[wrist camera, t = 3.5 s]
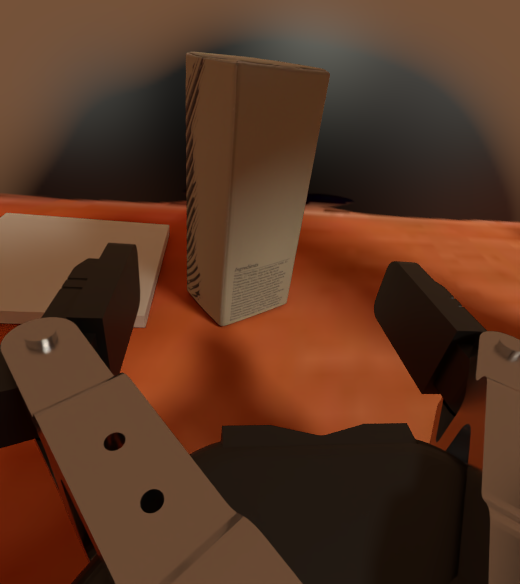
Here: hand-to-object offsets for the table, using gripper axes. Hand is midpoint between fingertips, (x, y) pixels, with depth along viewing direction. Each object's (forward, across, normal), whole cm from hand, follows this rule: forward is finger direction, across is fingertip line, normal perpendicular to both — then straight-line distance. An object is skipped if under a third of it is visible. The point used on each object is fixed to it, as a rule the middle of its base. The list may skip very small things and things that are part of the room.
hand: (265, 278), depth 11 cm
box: (+9, 0, +7) cm, 11 cm away
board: (+12, +11, +7) cm, 18 cm away
